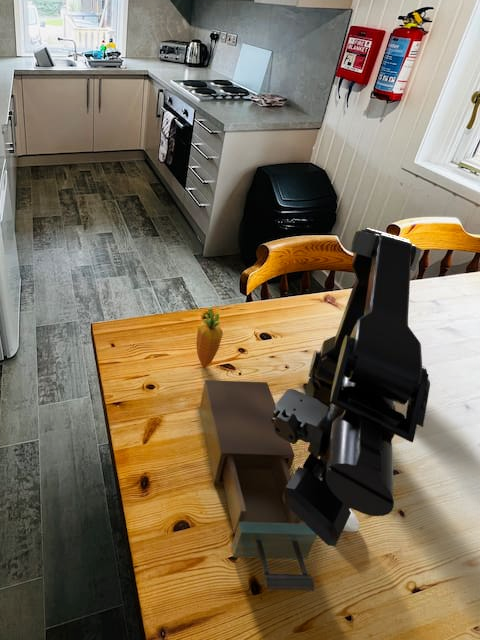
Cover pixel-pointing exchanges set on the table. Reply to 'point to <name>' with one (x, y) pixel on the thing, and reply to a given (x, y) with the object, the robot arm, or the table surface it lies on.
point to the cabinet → (240, 423)
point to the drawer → (266, 518)
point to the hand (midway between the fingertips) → (322, 498)
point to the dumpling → (352, 523)
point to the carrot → (208, 338)
